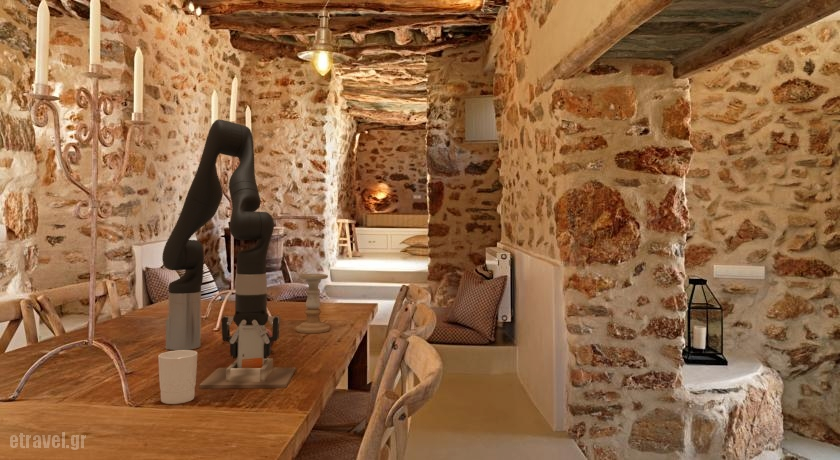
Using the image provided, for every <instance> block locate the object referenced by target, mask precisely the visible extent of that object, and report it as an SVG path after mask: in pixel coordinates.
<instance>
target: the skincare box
mask: <svg viewBox="0 0 840 460" xmlns="http://www.w3.org/2000/svg"><path fill="white" fill-rule="evenodd" d="M260 326H261V325H260ZM261 327H262V329H263V330H264V331H265V327H266V324H265V325H263V326H261ZM236 359H237V368H262V366H263V365H264V340H263V338H262V337H261V336H260V335H259V333H258V331H257V330H256V328H255V327H254V325H240V326H239V336H238V338H237V358H236Z"/></svg>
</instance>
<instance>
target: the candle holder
mask: <svg viewBox="0 0 840 460" xmlns="http://www.w3.org/2000/svg"><path fill="white" fill-rule="evenodd" d="M298 278H299V279H301V280H305V281H306V284H307V285H308V288H307V289H306V291H305V292H306V293H307V297H306V300H305V301H306V302H305V307H306V308H307V309H305V311H304V313H305V314H306V319H305V320H306V321H304V322H300V324H298V325H297V326H296V327H295V332H297V333H301V334H323V333H327V332H329V331H331V326H330V325H329V324H326V323H325V322H323V321H320V320H321V319H320V315H321V313H322V310H321V309H320V307H321V306H322V305H321V304H322V303H321V300H320V295H319V294H320V292H321V290H320V288H319V284H320V283H321V281H322V280H325V279H328V278H329V275H328V274H325V273H305V274H298Z"/></svg>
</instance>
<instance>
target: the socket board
mask: <svg viewBox="0 0 840 460" xmlns="http://www.w3.org/2000/svg"><path fill="white" fill-rule="evenodd" d="M296 368H297V367H295V366H292V367H290V366H289V367H285V366H283V367H276V366H275V367H274V358H271V357H270V358H269V357H268V358H267V359H264V365H263V366H262V368H237V358H236V360H235V359H234V361H233V362H232V363H231V364H230V365H229V366H227V367H217V368H216V369H215V370H214V371H213V372H211V374H210V375H209V376H207V377H206V378H205V379H204V380H203V381H202V382H201V383H200V384H198V389H199V390H200V389H203V390H204V389H207V390H208V389H214V390H215V389H286V388H287V387H288V385H289V383H290V381H291V380H292V377H293V376H294V374H295V372H296V371H297V369H296Z"/></svg>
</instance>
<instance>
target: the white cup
mask: <svg viewBox="0 0 840 460" xmlns="http://www.w3.org/2000/svg"><path fill="white" fill-rule="evenodd" d="M157 356H158V358H157V359H158V374H159V375H158V377H159V378H158V379H159V389H160V402H161V403H163V404H167V405H179V404H185V403H188V402H191V401H192V400H194V399H195V391H196V390H195V389H196V385H197V384H196V382H197V381H196V380H197V371H198V351H196V350H192V349H191V350H170V351H169V350H168V351H165V352H161V353H160V354H158V355H157Z"/></svg>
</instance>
